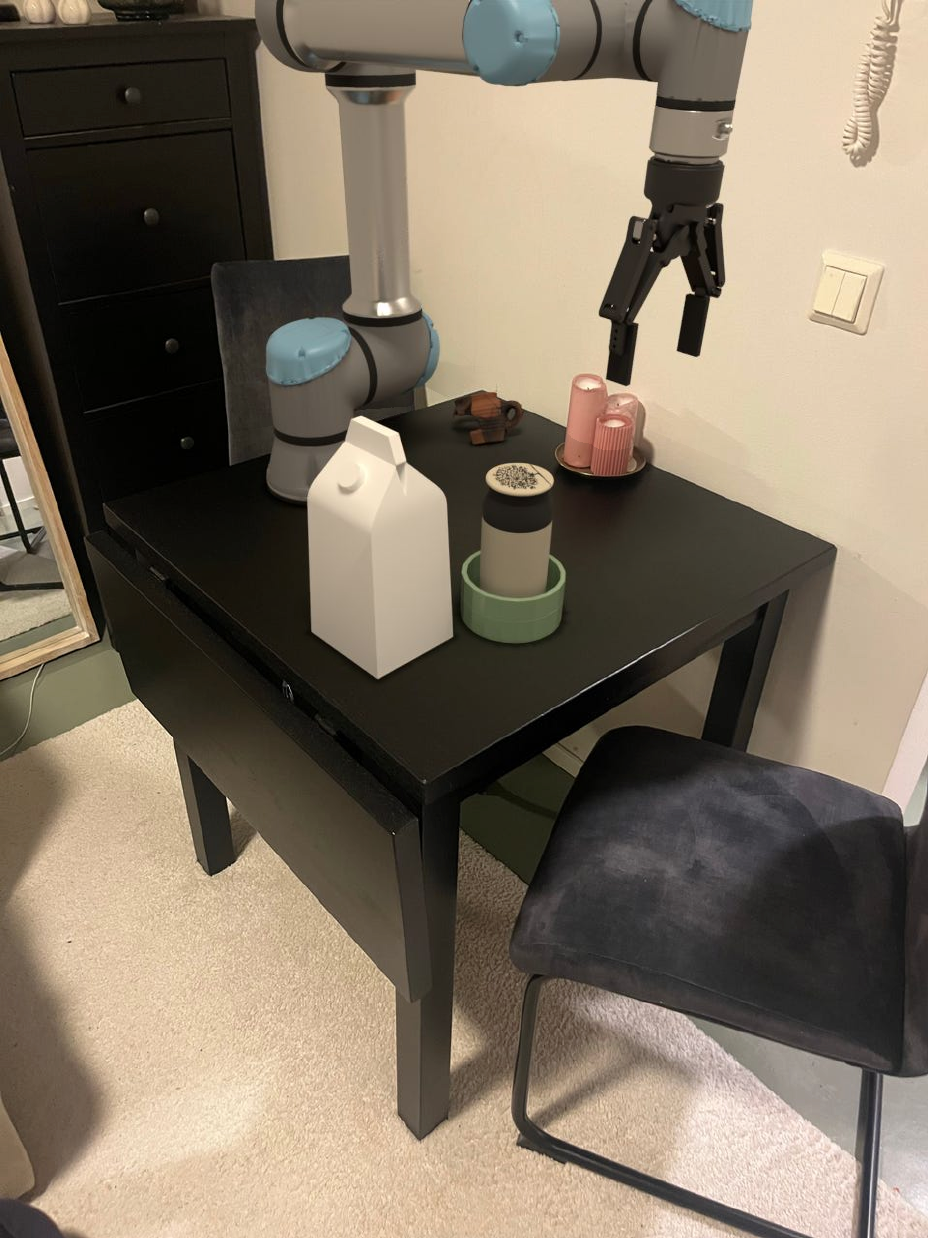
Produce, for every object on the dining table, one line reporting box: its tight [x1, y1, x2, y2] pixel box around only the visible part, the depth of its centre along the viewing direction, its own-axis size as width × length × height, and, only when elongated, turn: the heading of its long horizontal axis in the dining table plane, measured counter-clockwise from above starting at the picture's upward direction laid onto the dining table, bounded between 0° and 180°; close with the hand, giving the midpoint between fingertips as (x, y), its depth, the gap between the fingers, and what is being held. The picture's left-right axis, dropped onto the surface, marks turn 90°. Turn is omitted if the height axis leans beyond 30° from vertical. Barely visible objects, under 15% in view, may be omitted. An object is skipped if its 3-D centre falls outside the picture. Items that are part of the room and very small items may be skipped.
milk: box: [307, 415, 454, 680], centre depth 98 cm, size 12×12×26 cm
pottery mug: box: [451, 391, 525, 446], centre depth 152 cm, size 12×10×8 cm
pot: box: [460, 549, 567, 644], centre depth 108 cm, size 12×12×6 cm
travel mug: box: [479, 462, 555, 598], centre depth 104 cm, size 8×8×18 cm
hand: (654, 367), depth 101 cm, fingers open, 13 cm apart
